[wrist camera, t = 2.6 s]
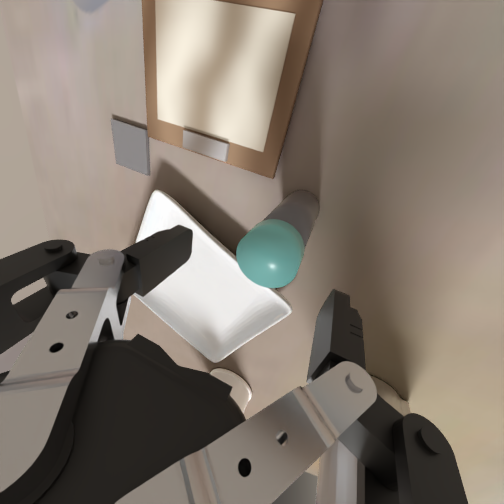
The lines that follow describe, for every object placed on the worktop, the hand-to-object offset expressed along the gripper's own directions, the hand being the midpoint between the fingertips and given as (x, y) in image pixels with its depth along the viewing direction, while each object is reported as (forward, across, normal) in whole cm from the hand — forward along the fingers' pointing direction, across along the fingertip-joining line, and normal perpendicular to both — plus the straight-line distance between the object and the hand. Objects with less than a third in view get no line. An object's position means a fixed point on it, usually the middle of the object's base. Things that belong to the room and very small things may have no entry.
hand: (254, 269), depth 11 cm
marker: (+12, 0, 0) cm, 12 cm away
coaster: (+12, +21, 0) cm, 25 cm away
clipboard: (+12, +11, -8) cm, 18 cm away
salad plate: (+13, +10, +16) cm, 23 cm away
